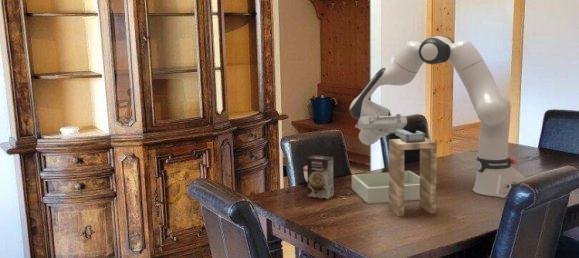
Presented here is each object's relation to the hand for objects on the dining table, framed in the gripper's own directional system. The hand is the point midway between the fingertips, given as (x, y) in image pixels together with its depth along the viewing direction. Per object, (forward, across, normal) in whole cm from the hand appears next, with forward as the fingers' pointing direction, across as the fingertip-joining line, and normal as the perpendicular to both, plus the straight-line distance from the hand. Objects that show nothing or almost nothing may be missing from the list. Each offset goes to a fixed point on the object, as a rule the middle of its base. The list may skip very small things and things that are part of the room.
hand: (388, 116), depth 220 cm
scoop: (+15, -1, +14) cm, 21 cm away
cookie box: (-17, -27, +28) cm, 42 cm away
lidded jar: (-33, -24, +19) cm, 46 cm away
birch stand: (+8, 0, +40) cm, 40 cm away
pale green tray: (-13, +1, +29) cm, 32 cm away
